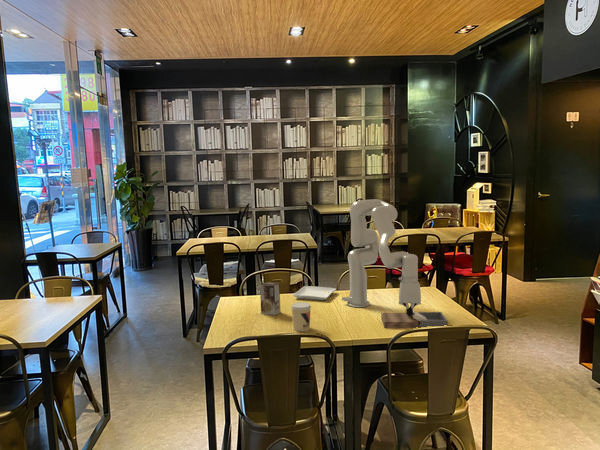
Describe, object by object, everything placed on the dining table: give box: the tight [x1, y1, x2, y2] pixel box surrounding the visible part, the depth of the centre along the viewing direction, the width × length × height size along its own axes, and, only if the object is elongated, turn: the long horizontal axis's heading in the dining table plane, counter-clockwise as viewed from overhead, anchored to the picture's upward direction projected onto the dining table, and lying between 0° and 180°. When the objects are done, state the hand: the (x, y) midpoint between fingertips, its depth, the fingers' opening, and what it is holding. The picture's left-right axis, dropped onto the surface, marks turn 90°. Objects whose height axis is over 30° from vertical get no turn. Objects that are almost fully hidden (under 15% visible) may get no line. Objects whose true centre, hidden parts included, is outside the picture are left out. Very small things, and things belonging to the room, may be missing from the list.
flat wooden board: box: [380, 312, 419, 329], centre depth 236 cm, size 16×14×3 cm
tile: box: [412, 309, 427, 321], centre depth 235 cm, size 7×7×2 cm
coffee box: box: [259, 281, 281, 316], centre depth 256 cm, size 9×6×16 cm
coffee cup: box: [291, 301, 312, 332], centre depth 231 cm, size 9×9×12 cm
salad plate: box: [292, 285, 337, 301], centre depth 288 cm, size 21×21×3 cm
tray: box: [416, 311, 449, 328], centre depth 235 cm, size 14×14×4 cm
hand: (409, 315), depth 235 cm, fingers closed
